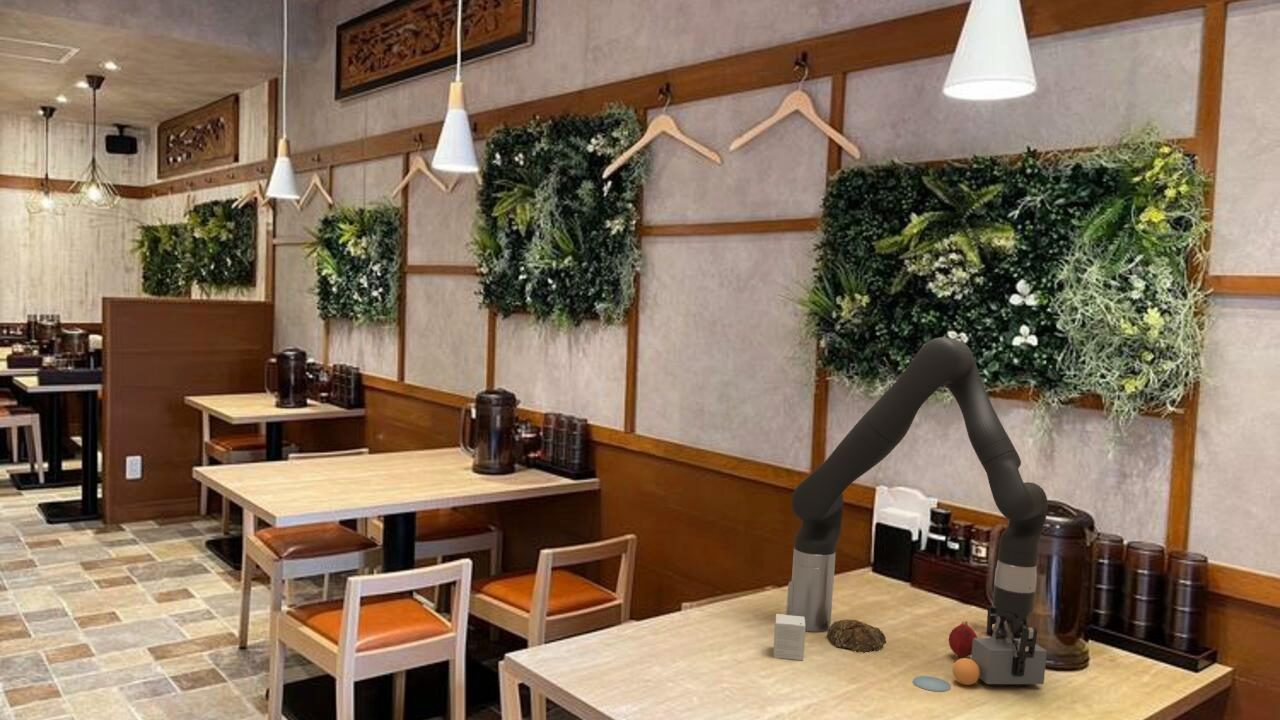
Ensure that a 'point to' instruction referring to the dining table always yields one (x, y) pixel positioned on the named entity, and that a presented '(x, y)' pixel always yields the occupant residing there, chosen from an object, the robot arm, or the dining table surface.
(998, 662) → the gray rectangular prism
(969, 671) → the ball
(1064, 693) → the dining table surface
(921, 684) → the spot
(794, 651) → the product box
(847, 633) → the bread roll
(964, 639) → the onion
